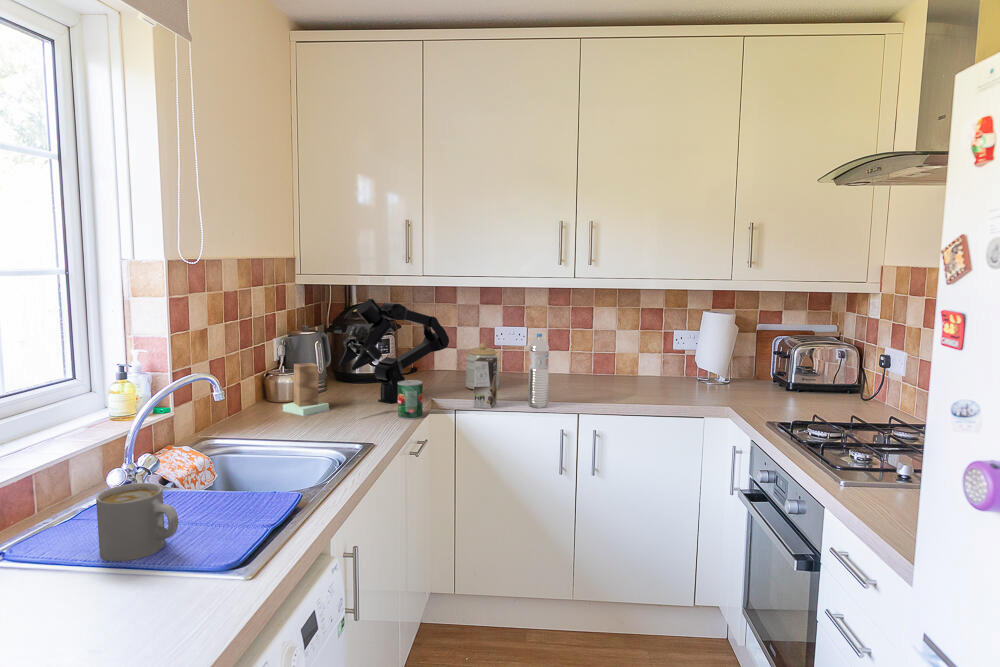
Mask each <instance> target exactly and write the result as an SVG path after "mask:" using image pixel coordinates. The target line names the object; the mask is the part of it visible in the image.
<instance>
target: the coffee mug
mask: <svg viewBox="0 0 1000 667" xmlns="http://www.w3.org/2000/svg"><path fill="white" fill-rule="evenodd" d="M163 494H164V493H163V487H162V485H160V484H157V483H153V482H135V483H128V484H127V483H126V484H122V485H117V486H114V487H110V488H108V489H106V490H104V491H101V492H100V493H98V495H97V496H96V499H95V502H96V503H95V504H96V519H97V530H98V532H97V533H98V545H99V546H98V548H99V549H98V550H99V551H98V552H99V557H100V558H101V559H103V560H105V561H108V562H126V561H127V562H128V561H135V560H138V559H143V558H145V557H149V556H151V555H154V554H156V553H157V552H158V551H160V550H162V549H163V547H165V545H166V540H167V539H169V538H171V537H173V536H174V535H175V534H176V532H177V531H178V527H179V517H178V512H177V510H176V508H175V507H173V506H172V505H170V504H169V503H168V504H167V503H164V495H163ZM165 516H166V518H167V522H168V523H167V524H168V525H167V528H166V527H165Z"/></svg>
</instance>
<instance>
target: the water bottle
mask: <svg viewBox="0 0 1000 667" xmlns="http://www.w3.org/2000/svg"><path fill="white" fill-rule="evenodd" d="M542 336H543V333H536V338H535V339H533V340H532V341H531V343H530V344H529V345H528V350H529V351H528V352H529V354H528V355H529V356H528V380H527V382H528V383H527V384H528V387H527V391H528V392H527V403H528V406H529V407H530V408H533V409H534V408H535V409H545V408H546V407H548V405H549V376H550V375H549V374H550V372H549V370H550V369H549V357H550V356H549V351H550V345H549V344H548V342H547V341H546V340H545V339H544V338H543V337H542Z"/></svg>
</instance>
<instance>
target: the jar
mask: <svg viewBox="0 0 1000 667" xmlns="http://www.w3.org/2000/svg"><path fill="white" fill-rule="evenodd" d="M467 353H468V356H466V357H465V360H466V365H465V370H466V371H465V372H466V373H465V376H466V377H465V387H466V386H467V387H470V388H474V361H475V360H477V359H478V358H480V357H482V358H486V357H488V358H497V387H498V388H499V387H500V380H499V379H500V365H499V361H500V357H499V356H498V355H497V354H498V351H497V350H495V349H494V348H492V347H487V344H486V343H484V342H480V344H479V347H472V348H471V349H469V350H468V352H467Z"/></svg>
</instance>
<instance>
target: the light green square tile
mask: <svg viewBox="0 0 1000 667" xmlns="http://www.w3.org/2000/svg"><path fill="white" fill-rule="evenodd" d="M331 410H332V409H331V408H329V410H325V411H321V412H317V413H312V414H308V415H304V416H303V415H299V414H294V413H290V412H286V411H283V409H282V410H281V412H284V413H287V414H291V415H296V416H301V417H307V416H311V415H315V414H319V413H324V412H328V411H331Z"/></svg>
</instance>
